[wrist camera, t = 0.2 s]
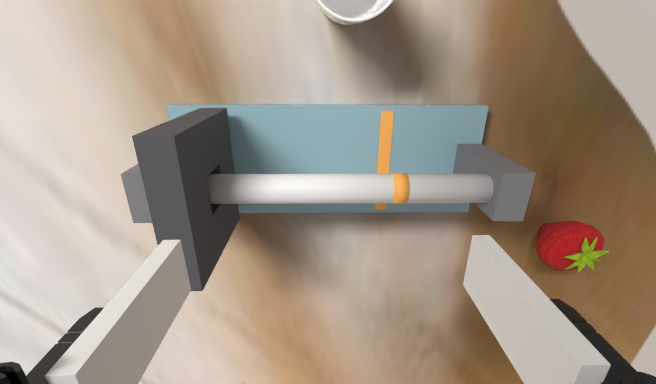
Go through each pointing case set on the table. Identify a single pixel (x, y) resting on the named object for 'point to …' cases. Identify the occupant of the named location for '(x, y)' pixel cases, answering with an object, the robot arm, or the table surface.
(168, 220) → the dark grey square plate
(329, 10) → the white cup
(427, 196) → the pipe stand
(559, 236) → the strawberry
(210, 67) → the table surface
